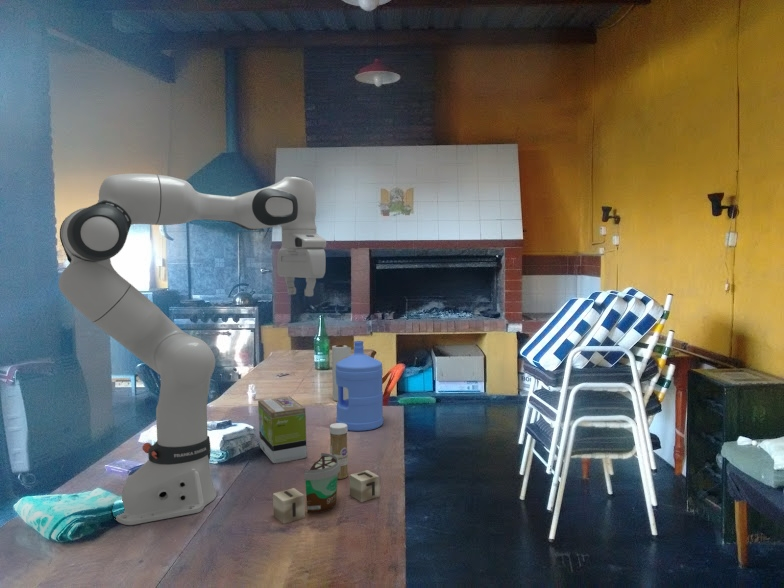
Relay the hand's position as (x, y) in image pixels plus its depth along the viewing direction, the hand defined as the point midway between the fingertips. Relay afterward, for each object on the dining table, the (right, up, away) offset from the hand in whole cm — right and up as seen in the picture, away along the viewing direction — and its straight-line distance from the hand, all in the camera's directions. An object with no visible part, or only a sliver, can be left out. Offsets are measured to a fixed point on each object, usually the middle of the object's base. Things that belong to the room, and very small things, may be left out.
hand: (300, 295), depth 149 cm
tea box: (-8, -46, +17) cm, 49 cm away
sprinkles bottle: (+10, -47, -1) cm, 48 cm away
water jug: (+13, -44, +45) cm, 64 cm away
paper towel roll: (+4, -42, +78) cm, 88 cm away
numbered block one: (+1, -48, -23) cm, 53 cm away
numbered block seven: (+17, -47, -13) cm, 52 cm away
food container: (+9, -48, -18) cm, 52 cm away
